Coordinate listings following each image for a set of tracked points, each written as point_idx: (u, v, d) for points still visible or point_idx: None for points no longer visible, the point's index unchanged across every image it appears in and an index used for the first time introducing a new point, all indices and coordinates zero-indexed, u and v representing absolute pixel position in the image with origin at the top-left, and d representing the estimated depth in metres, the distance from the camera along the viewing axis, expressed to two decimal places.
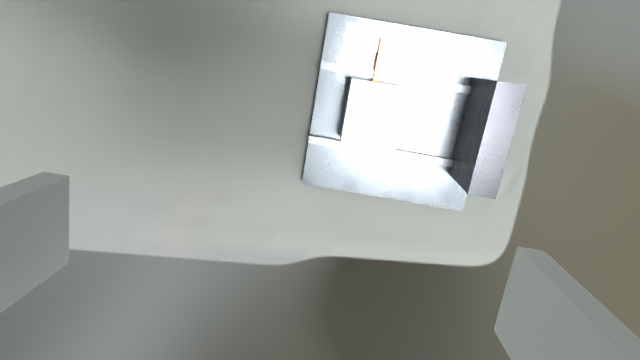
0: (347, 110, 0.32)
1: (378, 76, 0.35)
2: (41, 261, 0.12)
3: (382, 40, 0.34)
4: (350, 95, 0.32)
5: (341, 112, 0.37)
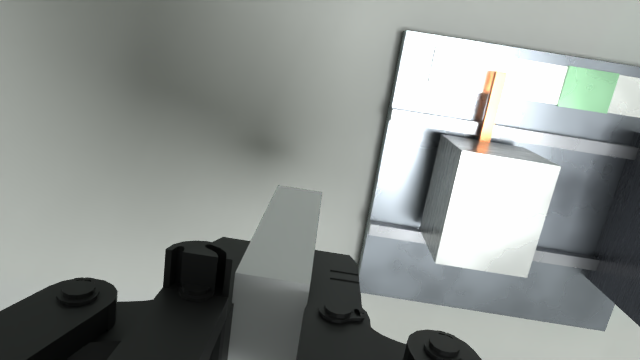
0: (451, 203, 0.19)
1: (488, 134, 0.21)
2: None
3: (498, 77, 0.21)
4: (458, 178, 0.18)
5: (421, 187, 0.23)
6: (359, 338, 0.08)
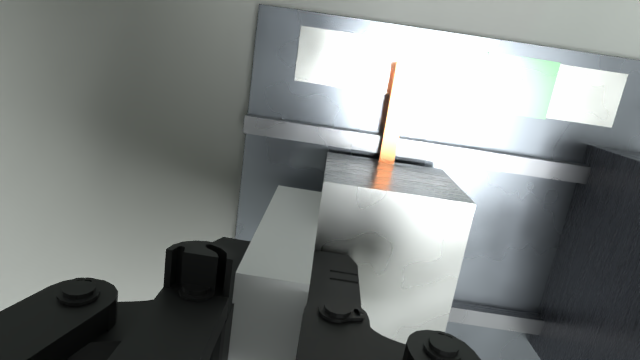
0: None
1: (391, 152, 0.15)
2: None
3: (399, 70, 0.14)
4: (321, 223, 0.12)
5: None
6: (359, 338, 0.08)
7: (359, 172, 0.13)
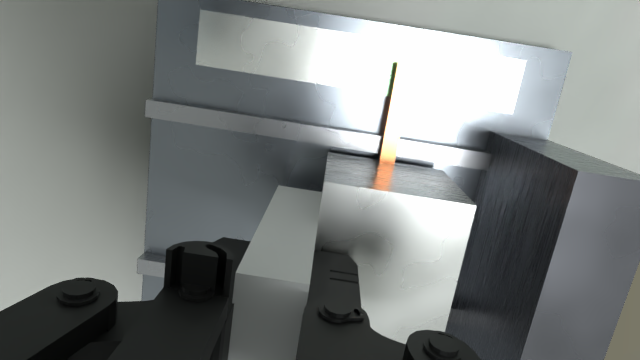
0: None
1: (391, 153, 0.15)
2: None
3: (401, 71, 0.14)
4: (321, 223, 0.12)
5: (207, 207, 0.17)
6: (359, 338, 0.08)
7: (360, 172, 0.13)
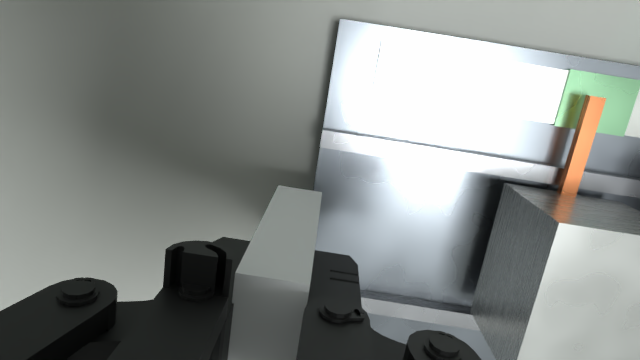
0: (537, 299, 0.12)
1: (574, 185, 0.15)
2: None
3: (592, 104, 0.14)
4: (550, 263, 0.12)
5: (367, 235, 0.17)
6: (359, 338, 0.08)
7: (567, 209, 0.13)
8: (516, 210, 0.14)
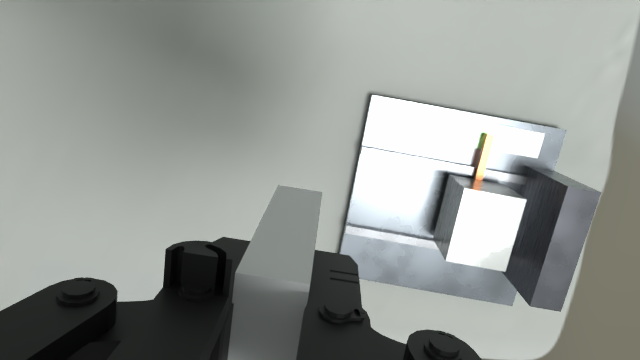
0: (456, 221, 0.29)
1: (481, 176, 0.32)
2: None
3: (488, 138, 0.31)
4: (461, 206, 0.29)
5: (382, 200, 0.34)
6: (359, 338, 0.08)
7: (472, 185, 0.30)
8: (452, 186, 0.31)
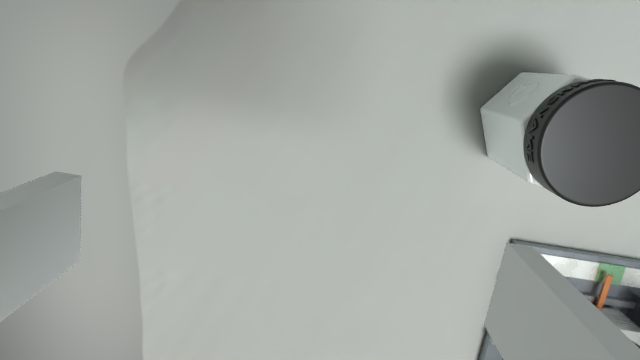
0: None
1: (601, 304, 0.42)
2: (54, 259, 0.12)
3: (608, 278, 0.41)
4: None
5: None
6: None
7: None
8: None
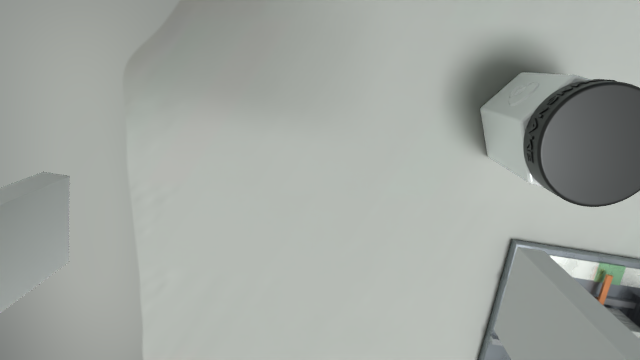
0: None
1: None
2: (41, 261, 0.12)
3: (608, 278, 0.41)
4: None
5: None
6: None
7: None
8: None
